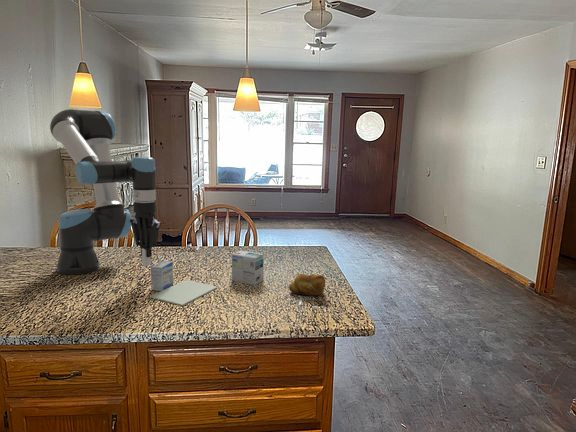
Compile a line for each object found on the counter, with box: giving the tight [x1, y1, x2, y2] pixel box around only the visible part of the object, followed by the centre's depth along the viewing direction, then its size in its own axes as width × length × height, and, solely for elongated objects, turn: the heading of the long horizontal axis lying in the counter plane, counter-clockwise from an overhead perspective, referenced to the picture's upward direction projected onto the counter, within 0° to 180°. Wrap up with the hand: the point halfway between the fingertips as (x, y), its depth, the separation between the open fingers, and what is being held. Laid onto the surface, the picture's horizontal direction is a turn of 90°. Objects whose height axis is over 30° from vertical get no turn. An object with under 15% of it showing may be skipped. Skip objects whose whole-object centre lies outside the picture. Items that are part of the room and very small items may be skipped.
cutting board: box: [149, 279, 218, 307], centre depth 144 cm, size 14×19×1 cm
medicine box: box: [150, 260, 174, 292], centre depth 148 cm, size 8×4×9 cm, turn 167°
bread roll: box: [288, 273, 326, 297], centre depth 148 cm, size 13×10×8 cm
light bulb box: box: [231, 250, 265, 286], centre depth 158 cm, size 11×7×11 cm, turn 65°
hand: (146, 265), depth 150 cm, fingers closed
